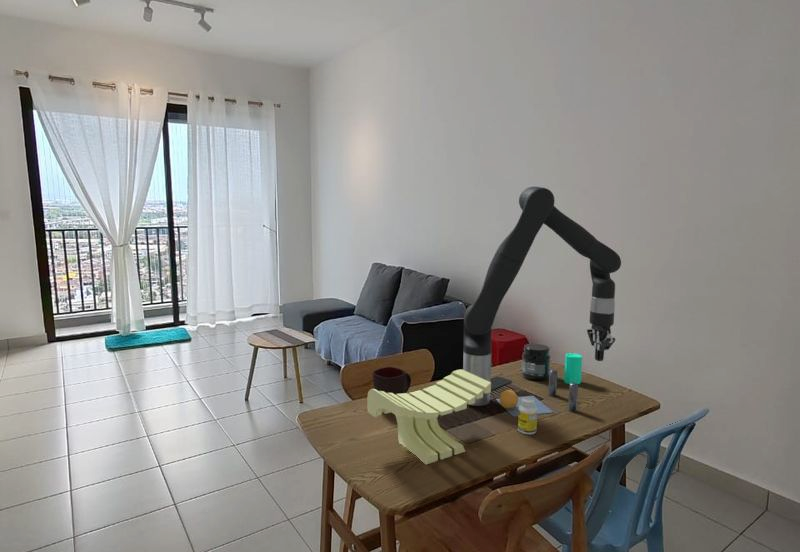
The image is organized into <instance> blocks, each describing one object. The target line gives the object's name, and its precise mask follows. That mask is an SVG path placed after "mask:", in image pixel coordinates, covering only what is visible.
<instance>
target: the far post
mask: <svg viewBox="0 0 800 552" xmlns="http://www.w3.org/2000/svg"><path fill="white" fill-rule="evenodd" d="M557 383H558V370H557V369H554V368H553V369H551V368H550V373H549V378H548V397H553V398H554V397H555V398H556V397H557V389H558V388H557V387H558V385H557Z"/></svg>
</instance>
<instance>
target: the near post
mask: <svg viewBox="0 0 800 552" xmlns="http://www.w3.org/2000/svg"><path fill="white" fill-rule="evenodd" d="M568 391H569V392H568V407H567V408H568V411H569V412H570V413H577V411H578V397H579V396H578V395H579V385H578V384H577V383H574V382H572V383H570V384H569V390H568Z"/></svg>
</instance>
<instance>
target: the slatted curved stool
mask: <svg viewBox="0 0 800 552" xmlns="http://www.w3.org/2000/svg"><path fill="white" fill-rule="evenodd" d="M491 392H492V391H491V382H489V381H487V380H484V379H482V378H480V377H478V376H475V375H473V374H471V373H469V372H466V371H464V370H463V368H461V369H456V370H453V371H452V372H451V373H450V374H449V375H447V376H445V377H443V378H442V380H438V381H436V382H435V384H433V385H431V386H427V387H425V388H422V390H421V389H419V390H416V391H412V392H407V393H402V394H396V395H395V394H393V393H385V392H384V391H377V390H376V389H374V388H370V389H369V390H368V392H367V398H366V399H367V400H366V403H367V413H368V414H370V416H372V417H374V418H378V417H379V416H381V415H383V414H384V415H385V414H390V413H392V414H393V415H395V418H396V419H395V420H396V423H397V439H398V443H399V445H400V444H402V445H403V446H404V447H406V448H407V449H408V450H409V451H410V452H412V453H413V454H415V455H416V456H417V457H418V458H419V459H420V462H422V463H423V464H424V465H428V464H432V463H435V462H437V461H439V460H440V461H441V460H444V459H446V458H450V457H453V455H458V454H461V453H466V450H465V447H464V445H463V444H461V443H460V442H458V441H457V440H456V439H454V438H452V437H451V436H450V435H449V434H447V433H446V432H445V431H444V429H442V428H441V426H440V424H439V422H438V417H439V416H445V415H449V414H452V413H453V411H454V412H459V411H463V410H466V409H467V407H468V405H467V403H468V404H473V403H475V398H477V399H479V398H483V393H485V394H486V393H490V394H491ZM467 410H468V409H467ZM403 446H402V447H403ZM404 447H403V448H404ZM407 449H406V450H407ZM408 450H407V451H408ZM409 451H408V452H409ZM410 452H409V453H410ZM412 453H411V454H412ZM413 454H412V455H413ZM416 456H415V457H416ZM417 457H416V458H417ZM418 458H417V459H418ZM419 459H418V460H419Z"/></svg>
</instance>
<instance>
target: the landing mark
mask: <svg viewBox="0 0 800 552" xmlns="http://www.w3.org/2000/svg"><path fill="white" fill-rule="evenodd" d="M523 397H532V398H534V399H535V406H536V407H537V415H544V414H546V415H547V414H554V411H553V410H551V408H549V407H548V406H547V405H545V404H544V403H543V402H542V401H540V400H539V399H538V398H537V397H535V396H534V395H525V396H518V404H517V405H516V406H515V407H514V408H512V409H507V408H504V409H505V411H507V412H508V413H509V414H510V416H511V417H518V410H519V406H520V405H521V398H523ZM495 400H496V402H497V403H499V405H501V403H500V400H499V398H495Z"/></svg>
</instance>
